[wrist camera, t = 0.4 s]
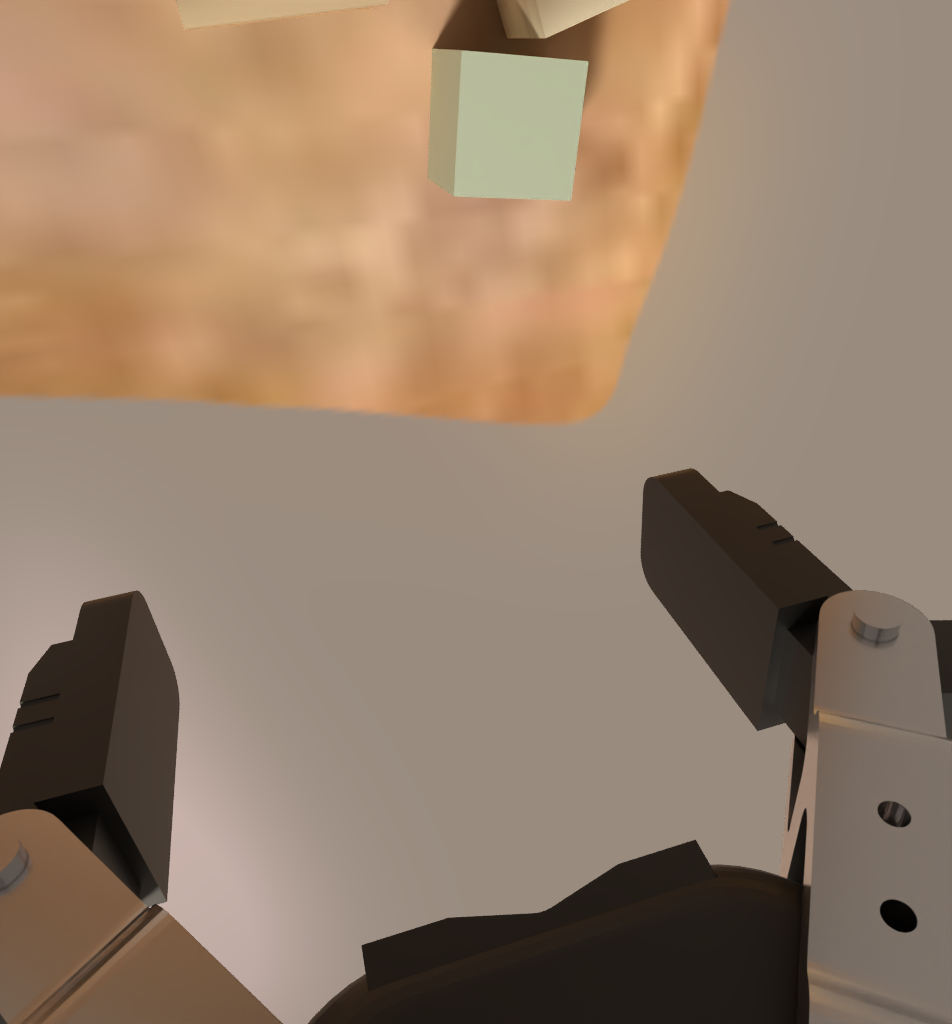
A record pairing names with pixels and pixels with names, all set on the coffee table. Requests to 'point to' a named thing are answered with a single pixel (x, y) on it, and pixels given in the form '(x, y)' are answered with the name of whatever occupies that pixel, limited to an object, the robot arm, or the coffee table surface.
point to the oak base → (259, 10)
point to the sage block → (504, 124)
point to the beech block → (547, 15)
